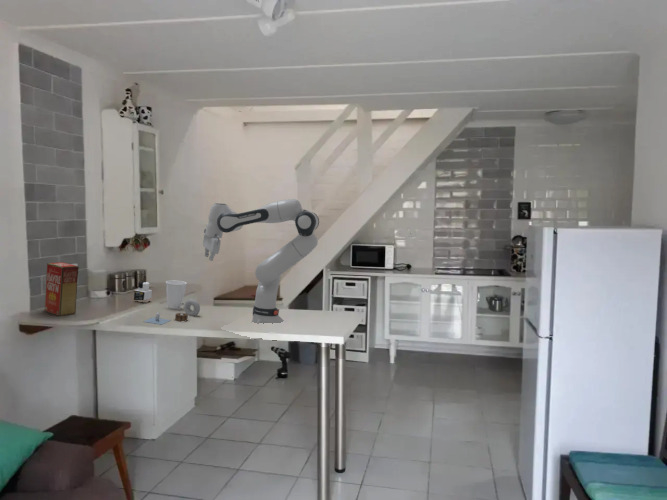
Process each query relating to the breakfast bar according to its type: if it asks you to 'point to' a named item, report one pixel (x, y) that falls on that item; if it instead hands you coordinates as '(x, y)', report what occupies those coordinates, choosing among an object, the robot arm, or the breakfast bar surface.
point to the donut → (195, 305)
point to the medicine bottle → (142, 291)
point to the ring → (181, 317)
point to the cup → (175, 293)
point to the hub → (157, 320)
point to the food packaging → (61, 288)
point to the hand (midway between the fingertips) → (208, 258)
